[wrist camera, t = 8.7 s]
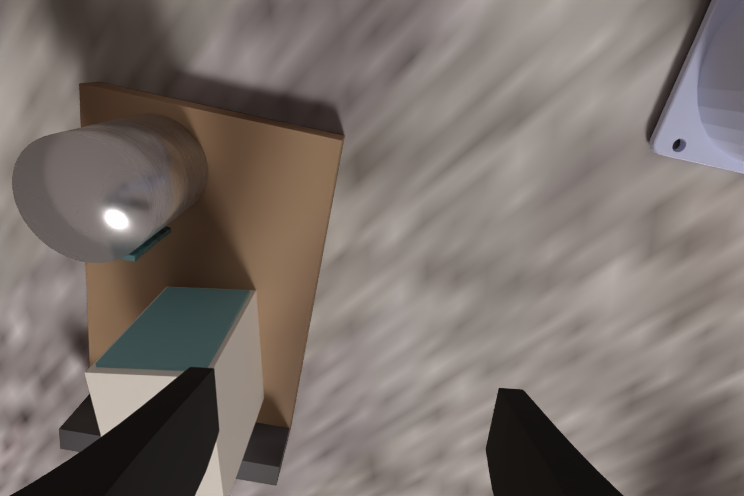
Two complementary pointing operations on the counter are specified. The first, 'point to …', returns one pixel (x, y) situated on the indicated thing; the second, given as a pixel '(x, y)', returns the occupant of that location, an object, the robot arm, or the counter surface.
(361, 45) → the counter surface
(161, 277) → the tan wooden panel
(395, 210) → the counter surface
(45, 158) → the tin
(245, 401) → the carton
